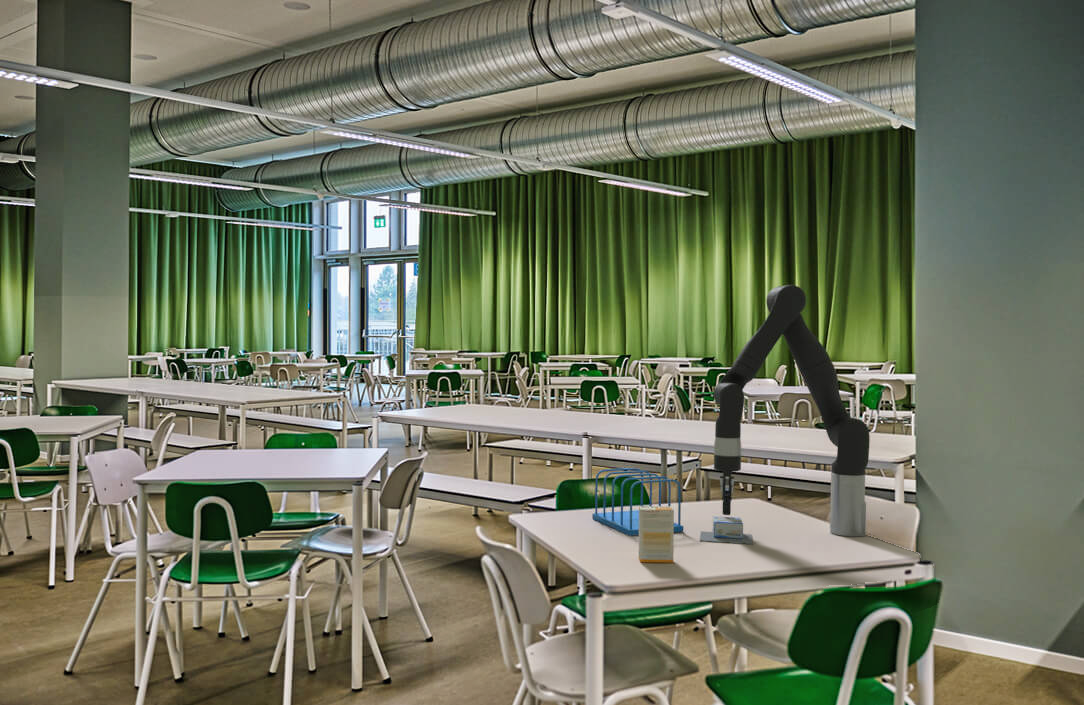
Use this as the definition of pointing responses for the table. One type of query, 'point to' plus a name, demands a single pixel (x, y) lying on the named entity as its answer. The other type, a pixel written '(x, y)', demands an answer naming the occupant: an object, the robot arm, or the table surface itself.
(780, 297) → the robot arm
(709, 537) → the felt mat
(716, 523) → the medicine box
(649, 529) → the supplement box
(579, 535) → the table surface
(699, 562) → the table surface
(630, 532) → the file sorter
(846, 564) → the table surface
